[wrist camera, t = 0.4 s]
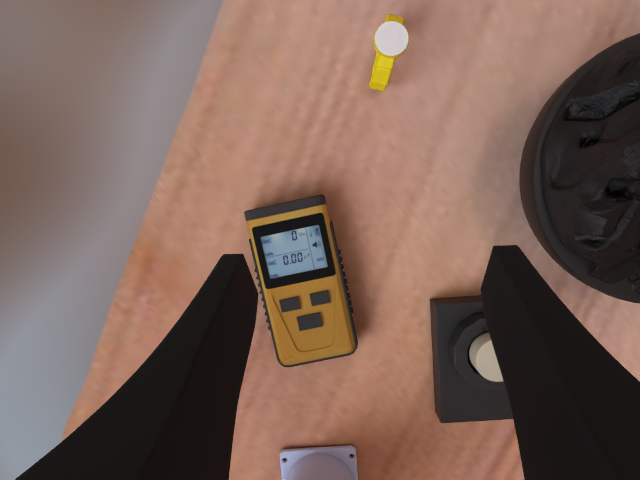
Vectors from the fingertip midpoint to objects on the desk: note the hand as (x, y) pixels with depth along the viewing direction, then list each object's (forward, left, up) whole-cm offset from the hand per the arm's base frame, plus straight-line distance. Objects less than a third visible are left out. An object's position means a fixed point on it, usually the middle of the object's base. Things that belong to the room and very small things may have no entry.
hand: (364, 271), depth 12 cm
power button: (-13, -13, -24) cm, 31 cm away
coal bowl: (+2, -24, -28) cm, 37 cm away
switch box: (-15, -13, -28) cm, 34 cm away
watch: (+14, -5, -28) cm, 32 cm away
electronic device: (-6, +4, -28) cm, 29 cm away
